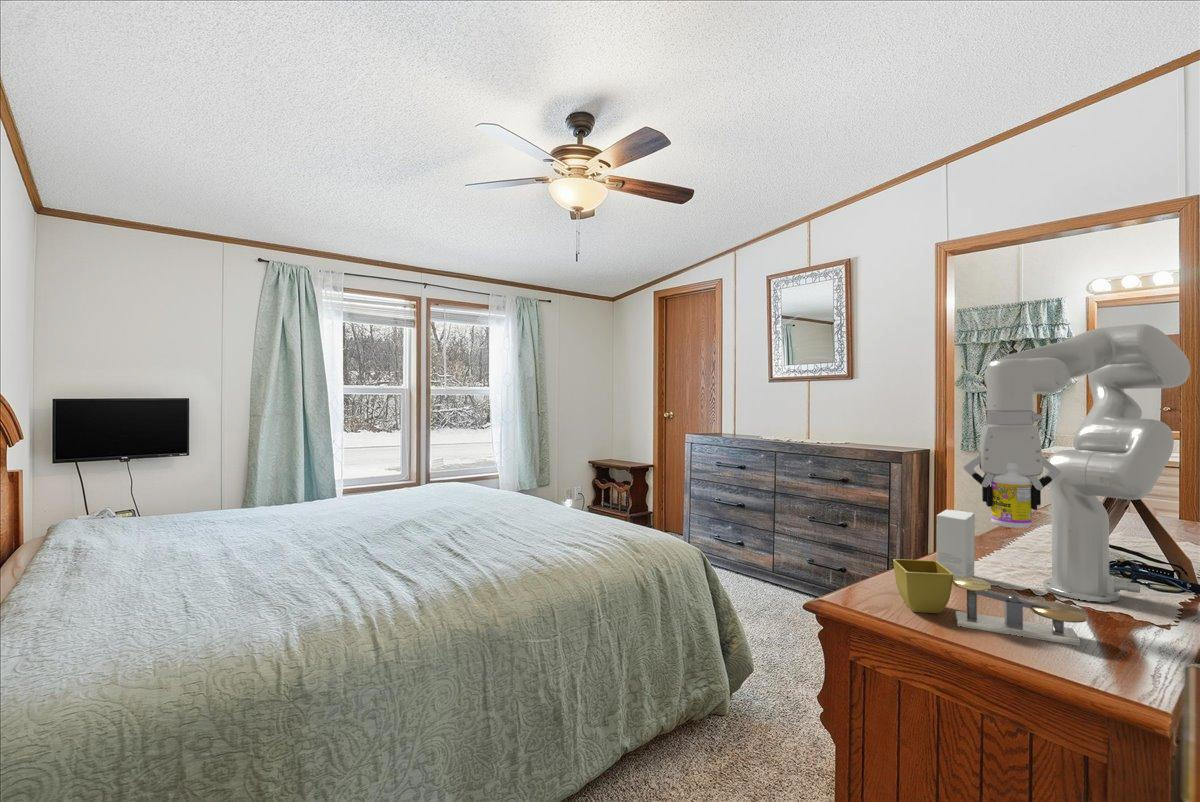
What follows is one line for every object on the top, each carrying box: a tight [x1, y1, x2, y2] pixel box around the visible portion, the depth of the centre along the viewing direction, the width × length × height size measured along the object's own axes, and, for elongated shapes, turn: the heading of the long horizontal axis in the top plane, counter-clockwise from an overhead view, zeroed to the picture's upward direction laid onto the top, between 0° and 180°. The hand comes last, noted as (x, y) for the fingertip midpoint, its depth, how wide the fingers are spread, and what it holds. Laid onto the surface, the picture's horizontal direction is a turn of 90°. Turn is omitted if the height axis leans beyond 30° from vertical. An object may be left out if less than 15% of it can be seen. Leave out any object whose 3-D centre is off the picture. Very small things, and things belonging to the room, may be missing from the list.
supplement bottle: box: [990, 463, 1033, 529], centre depth 111 cm, size 7×7×13 cm
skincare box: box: [936, 508, 976, 578], centre depth 132 cm, size 8×7×16 cm
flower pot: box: [892, 558, 953, 614], centre depth 113 cm, size 9×9×9 cm
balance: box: [952, 576, 1088, 647], centre depth 102 cm, size 20×8×8 cm, turn 61°
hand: (1010, 506), depth 111 cm, fingers closed on supplement bottle, 6 cm apart
